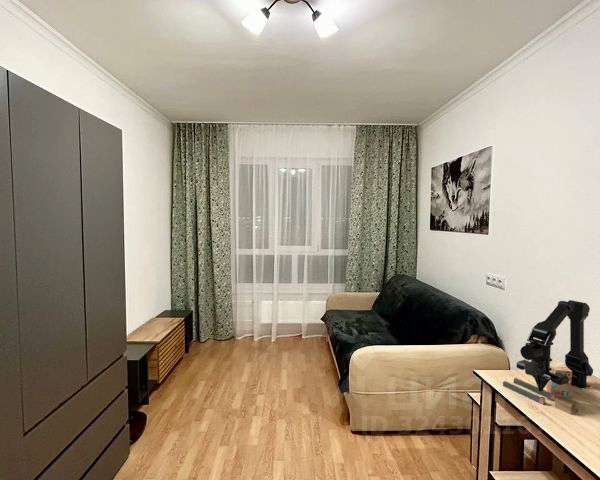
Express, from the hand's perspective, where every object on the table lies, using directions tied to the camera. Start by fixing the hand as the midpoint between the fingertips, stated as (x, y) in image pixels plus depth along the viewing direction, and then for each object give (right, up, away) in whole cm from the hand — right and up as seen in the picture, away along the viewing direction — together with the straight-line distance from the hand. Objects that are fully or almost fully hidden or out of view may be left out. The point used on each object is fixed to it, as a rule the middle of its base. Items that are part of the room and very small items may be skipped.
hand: (540, 390), depth 153 cm
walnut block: (+5, -4, -9) cm, 10 cm away
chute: (-2, -3, +5) cm, 6 cm away
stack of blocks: (+12, -3, +11) cm, 17 cm away
